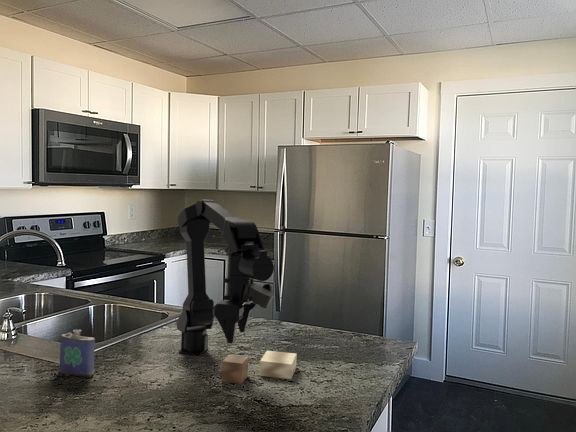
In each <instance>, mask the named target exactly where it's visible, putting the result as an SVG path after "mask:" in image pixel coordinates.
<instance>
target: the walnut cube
mask: <svg viewBox="0 0 576 432" xmlns="http://www.w3.org/2000/svg"><path fill="white" fill-rule="evenodd" d="M221 362H222V365H221V366H222V367H221V382H223V383H224V382H226V383H232V384H239V385H242V384H243V383H244V381H246V379H247V378H248V376H249V375H248V374H249V356H245V355H236V354H228V355H226V357H225V358H224V359H223V360H222V361H221Z"/></svg>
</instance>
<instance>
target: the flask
mask: <svg viewBox="0 0 576 432" xmlns="http://www.w3.org/2000/svg"><path fill="white" fill-rule="evenodd" d="M72 332H73V333H72ZM72 332H68V333H63V334H61V335H60V346H59V349H60V351H59V352H60V353H59V370H58V371H59V373H61V374H64V375H67V376H69V375H70V376H76V377H87V378H90V377H93V376H94V375H95V347H96V346H95V344H96V338H95V337H92V336H90V337H89V336H83V335H82V336H81V332H82V330H81V329H73V330H72Z"/></svg>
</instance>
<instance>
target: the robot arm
mask: <svg viewBox="0 0 576 432" xmlns="http://www.w3.org/2000/svg"><path fill="white" fill-rule="evenodd" d="M177 217H178V218H177V224H178V226H179V233H180V235H181V236H182V238H183V240H184V241H185V243H186V246H185V247H186V268H187V269H186V270H187V291H188V292H187V296H186V298H185V299H184V301H183V303H182V311H181V314H180V315H179V317H178V318H177V320H176V323H175V324H176V329H177V330H178V331H180V332H181V334H180V335H181V339H180V349H179V350H178V353H179V354H185V355H192V356H193V355H195V356H201V355H202V354H203V353H204V352H206V351H207V350H208V349H209V334H207V330H212V328H213V324H214V319H217V321H218V324H219V326H220V327H221V329H222V332H223V334H224V337H225V339H226V341H227V343H228V344H233V343H234V340H235V335H236V330H237V327H238V330H239V332H240V333H244V332H245V331H246V328H247V324H248V321H249V317H250V314H251V312H252V310H253V309H254V308H255V307H256V306H257V305H258V306H259V307H260V308H263V309H267V308H268V307H269V306H270V305H271V303H272V300H273V298H274V296H275V291H273V290H274V289H273V285H272V284H271V283H268V282H266V283H265V284H264V285H263V286H262V285H261V284H259V285H258V284H256V283H255V280H256V281H259V282H265V281H268V280H269V279H270V278H271V277H272V275H273V273H274V269H275V266H274V262H273V260H272V259H271V258H270V257H269V256H268V251H267V250H265V246H264V242H263V239H262V238H261V235H260V232H259V230H258V226H257V224H256V223H255V222H254V221H252V220H248V219H245V218H240V217H236V216H235V215H234V214H232V213H231V212H230V211H228V210H227V209H226V208H224V207H223V206H221V205H220V204H219V203H218V201H217V200H214V199H200V200H197V201H196V203H194V204H191V205H190V206H188V207H185V208H184V209H183V210H182V211H181V212H180V213H179V214H178V216H177ZM211 224H212V225H214V226H215V227H217V228H218V229H219V230H220V231H221V232H222V233H221V237H222V239H223V240H224V241H225V243H226V244H227V245H228V246H227V247H226V248H225V249H224V252H225V253H226V254H227V275H226V277H225V278H224V284H225V283H226V294H224V295H223V300H220V301H219V302H217V303H216V304H215V302H214V300H213V299H212V298H210V297H209V295H208V294H207V285H206V284H207V281H206V279H207V278H206V260H205V258H206V257H205V254H206V253H205V241H206V238H207V236H208V234H209V232H210V225H211Z"/></svg>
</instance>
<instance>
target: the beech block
mask: <svg viewBox="0 0 576 432" xmlns="http://www.w3.org/2000/svg"><path fill="white" fill-rule="evenodd" d="M297 356H298V355H297V353H294V352H284V351H274V350H273V351H272V350H266V351H265V353H264V354H263V356H262V357H261V359H260V361H259V374H258V375H259V377H261V376H262V377H270V378H277V379H286V380H292V378H293V375H294V374H295V371H296V369H297V360H298V359H297Z"/></svg>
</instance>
